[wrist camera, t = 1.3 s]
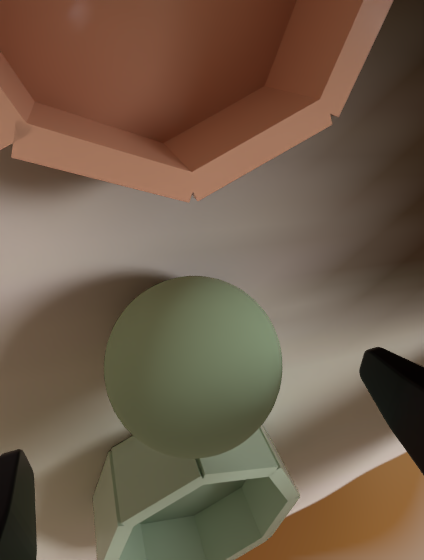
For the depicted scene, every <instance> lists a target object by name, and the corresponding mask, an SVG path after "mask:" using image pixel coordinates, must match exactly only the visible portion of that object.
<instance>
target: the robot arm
mask: <svg viewBox="0 0 424 560" xmlns="http://www.w3.org/2000/svg"><path fill="white" fill-rule="evenodd" d="M359 373H360V377H361V379H362V381H363V382H364V384H365V386H366V388H367V389H368V391H369V393H370V395H371V396H372V398H373V400H374V401H375V403H376V405H377V407H378V408H379V410H380V412H381V414H382V415H383V417H384V419H385V420H386V422H387V424H388V425H389V427H390V428H391V430H392V431H393V433H394V434H395V435H396V437H397V438H398V440H399V441H400V442H401V444H402V445H403V447H404V448H405V449H406V451H407V452H408V454H409V455H410V456H411V458H412V459H413V461H414V462H415V463H416V465H417V466H418V468H419V469H420V470H421V472H422V473H423V475H424V367H422V366H420V365H418V364H416V363H413V362H411V361H409V360H407V359H405V358H403V357H401V356H398V355H396V354H394V353H392V352H390V351H388V350H386V349H383V348H381V347H376V348H372V349H369V350H366V351H365V353H364V356H363V359H362V363H361V366H360V370H359ZM36 554H37V544H36V514H35V488H34V474H33V470H32V467H31V465H30V463H29V461H28V459H27V457H26V456H25V454H24V452H23V451H22V450H21V449H17V450H14V451H10V452H7V453H4V454H2V455H1V456H0V560H36Z"/></svg>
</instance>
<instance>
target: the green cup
mask: <svg viewBox="0 0 424 560" xmlns="http://www.w3.org/2000/svg"><path fill="white" fill-rule="evenodd" d="M111 449H112V451H109V452H108V455H107V458H106V461H105V464H104V466H103V469H102V472H101V475H100V478H99V481H98V484H97V487H96V490H95V492H94V495H93V510H94V524H95V538H96V552H97V560H235V559H237V558H238V557H240V556H242V555H243V554H245V553H247V552H248V551H250V550H251V549H253V548H255V547H256V546H258V545H260V544H262V543H263V542H265V541H266V540H268V538H270V537H271V536H272V535H273V534H274V532H275V531H276V529H277V528H278V527H279V525H280V524H281V522H282V521H283V520H284V518H285V517H286V516H287V514H288V513H289V511H290V510H291V509H292V507H293V506H294V505H295V503H296V502H297V500H298V499H299V498H300V497H299V496H300V494H299V492H298V490H297V488H296V486H295V484H294V482H293V480H292V479H291V477H290V475H289V473H288V471H287V469H286V467H285V465H284V463H283V461H282V460H281V458H280V456H279V454H278V452H277V450H276V448H275V446H274V444H273V442H272V440H271V439H270V437H269V435H268V434H267V432H266V431H265V429H264V428H263V426H262V425H261V427H260V428H259V429H258V430H257V431H256V432H255V433H254V434H253V435H252V436H251V437H250V438H248V439H247V440H246V441H245V442H243V443H242V444H240V445H239V446H237V447H235V448H233V449H232V450H229V451H227V452H225V453H222V454H219V455H216V456H212V457H207V458H198V459H185V458H179V457H173V456H168V455H165V454H162V453H160V452H158V451H155V450H153V449H151V448H149V447H148V446H146V445H145V444H143V443H142V442H140V441H139V440H138V439H136V438H135V437H134V436H132V437H130V438H128V439H126V440H125V441H123V442H121V443H120V444H118V445H116V446H114V447H113V448H111Z"/></svg>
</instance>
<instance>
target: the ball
mask: <svg viewBox="0 0 424 560" xmlns="http://www.w3.org/2000/svg"><path fill="white" fill-rule="evenodd" d="M281 378H282V355H281V349H280V344H279V340H278V337H277V334H276V332H275V329H274V327H273V325H272V323H271V321H270V320H269V318H268V316H267V315H266V313H265V312H264V311H263V309H262V308H261V307H260V306H259V305H258V304H257V303H256V301H255V300H254V299H252V298H251V297H250V296H249V295H247V294H246V293H245V292H244V291H242V290H241V289H239V288H237V287H235V286H234V285H231V284H229V283H227V282H224V281H222V280H219V279H214V278H210V277H203V276H185V277H178V278H174V279H170V280H167V281H164V282H161V283H159V284H157V285H155V286H153V287H151V288H149V289H148V290H146V291H145V292H143V293H141V294H140V295H139V296H138V297H136V298H135V299H134V300H133V301H132V302H131V303H130V304H129V305H128V306H127V307H126V309H125V310H124V311H123V313H122V314H121V315H120V317H119V318H118V320H117V322H116V323H115V325H114V327H113V329H112V332H111V335H110V337H109V340H108V342H107V347H106V352H105V358H104V379H105V385H106V390H107V394H108V397H109V400H110V402H111V405H112V407H113V409H114V412H115V413H116V415H117V416H118V418H119V419H120V421H121V422H122V424H123V425H124V427H125V428H126V429H127V430H128V431H129V432H130V433H131V434H132V435H133V436H134V437H135V438H136V439H138V440H139V441H140V442H142V443H143V444H145V445H146V446H148V447H149V448H151V449H153V450H155V451H158V452H160V453H162V454H165V455H168V456H173V457H179V458H185V459H198V458H207V457H212V456H216V455H219V454H222V453H225V452H227V451H229V450H232V449H233V448H235V447H237V446H239V445H240V444H242V443H243V442H245V441H246V440H247V439H248V438H250V437H251V436H252V435H253V434H254V433H255V432H256V431H257V430H258V429H259V428H260V427H261V425H262V424H263V423H264V421H265V420H266V418H267V417H268V415H269V413H270V412H271V410H272V408H273V406H274V404H275V401H276V398H277V395H278V393H279V389H280V384H281Z"/></svg>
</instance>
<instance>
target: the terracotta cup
mask: <svg viewBox="0 0 424 560" xmlns="http://www.w3.org/2000/svg"><path fill="white" fill-rule="evenodd" d="M393 1H394V0H0V150H1V149H3V148H5V147H7V146H9V145H10V144H12V143H13V147H12V155H11V158H15V159H19V160H23V161H27V162H31V163H35V164H39V165H43V166H47V167H50V168H54V169H58V170H62V171H66V172H70V173H74V174H78V175H82V176H86V177H90V178H94V179H98V180H102V181H106V182H110V183H114V184H118V185H121V186H125V187H129V188H133V189H137V190H141V191H145V192H149V193H153V194H157V195H161V196H165V197H169V198H173V199H177V200H181V201H185V202H188V203H189V201H190V198H191V196H192V195H193V196H194V198H195V199H196V200H197V201H199V200H201V199H203V198H204V197H206V196H208V195H210V194H211V193H213V192H215V191H217V190H218V189H220V188H222V187H224V186H225V185H227V184H229V183H231V182H232V181H234V180H236V179H238V178H239V177H241V176H243V175H245V174H246V173H248V172H250V171H252V170H253V169H255V168H257V167H259V166H261V165H262V164H264V163H266V162H268V161H269V160H271V159H273V158H275V157H276V156H278V155H280V154H282V153H283V152H285V151H287V150H289V149H290V148H292V147H294V146H296V145H297V144H299V143H301V142H303V141H304V140H306V139H308V138H310V137H311V136H313V135H315V134H317V133H318V132H320V131H322V130H324V129H325V128H327V127H329V126H331V125H332V121H331V116H330V115H332V116H336V117H339V115H340V113H341V111H342V109H343V107H344V105H345V103H346V101H347V98H348V96H349V94H350V92H351V90H352V88H353V86H354V84H355V81H356V79H357V77H358V75H359V73H360V71H361V69H362V67H363V64H364V62H365V60H366V58H367V56H368V54H369V52H370V49H371V47H372V45H373V43H374V41H375V39H376V37H377V35H378V32H379V30H380V28H381V26H382V24H383V22H384V20H385V18H386V15H387V13H388V11H389V9H390V7H391V5H392V3H393Z"/></svg>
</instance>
